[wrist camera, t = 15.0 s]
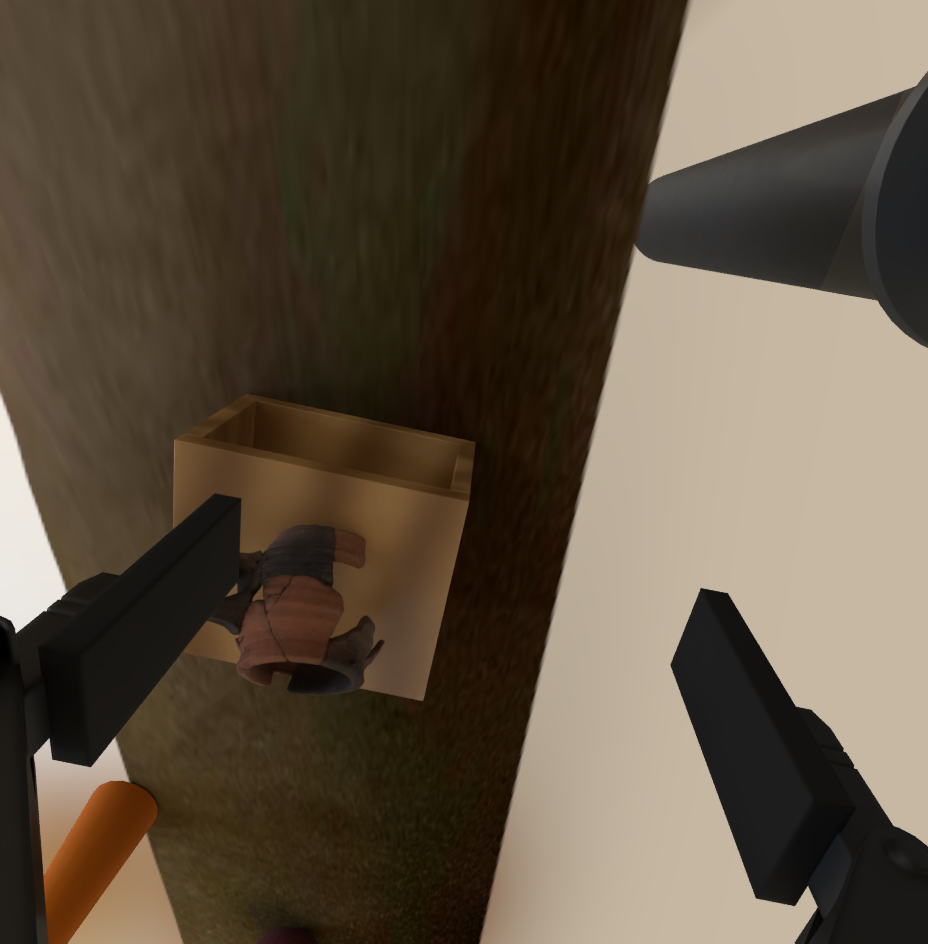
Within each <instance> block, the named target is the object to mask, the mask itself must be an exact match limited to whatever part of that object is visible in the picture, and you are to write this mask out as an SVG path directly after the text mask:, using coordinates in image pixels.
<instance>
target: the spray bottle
mask: <svg viewBox="0 0 928 944" xmlns="http://www.w3.org/2000/svg"><path fill="white" fill-rule="evenodd" d="M157 811H158V807H157V805H156V802H155V800H154V798H153V797H152V796H151V795H150V794H149V793H148V792H147V791H146V790H145V789H143V788H141V787H139V786H137V785H136V784H132V783H129V782H125V781H110V782H107V783H105V784H102V785H100V786H99V787H98V788H97V789H96V790H95V792H94V793H93V795H92V796H91V798H90V799H89V801H88V803H87V804H86V806H85V808H84V809H83V811H82V813H81V815H80V816H79V818H78V819H77V821H76V823H75V824H74V826H73V828H72V829H71V831H70V833H69V834H68V836H67V838H66V839H65V841H64V843H63V845H62V846H61V848H60V849H59V851H58V853H57V855H56V856H55V858H54V859H53V861H52V863H51V864H50V866H49V868H48V869H47V871H46V873H45V875H44V876H43V877H44V891H45V904H46V917H47V930H48V944H67V943H68V942H69V940H70V939H71V938H72V936H73V935H74V934H75V932H76V931H77V929H78V928H79V926H80V925H81V924H82V922H83V921H84V919H85V918H86V917H87V915H88V914H89V912H90V911H91V910H92V908H93V907H94V905H95V904H96V903H97V901H98V900H99V898H100V897H101V895H102V894H103V893H104V891H105V890H106V888H107V887H108V886H109V884H110V883H111V881H112V880H113V879H114V877H115V876H116V874H117V873H118V872H119V870H120V869H121V867H122V866H123V865H124V863H125V862H126V860H127V859H128V858H129V856H130V855H131V853H132V852H133V850H134V849H135V848H136V846H137V845H138V843H139V842H140V841H141V839H142V838H143V836H144V835H145V834H146V832H147V831H148V829H149V828H150V827H151V825H152V824H153V822H154V821H155V820H156V817H157Z"/></svg>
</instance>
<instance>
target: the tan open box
mask: <svg viewBox="0 0 928 944" xmlns="http://www.w3.org/2000/svg"><path fill="white" fill-rule="evenodd" d="M474 452H475V442H473V441H468V440H464V439H459V438H454V437H450V436H445V435H440V434H436V433H431V432H426V431H422V430H417V429H412V428H408V427H403V426H398V425H393V424H389V423H384V422H379V421H375V420H370V419H365V418H361V417H356V416H351V415H347V414H342V413H337V412H333V411H328V410H323V409H318V408H314V407H309V406H304V405H300V404H295V403H290V402H286V401H281V400H276V399H272V398H267V397H262V396H258V395H253V394H248V393H247V394H246V395H244V396H242V397H241V398H239V399H237V400H236V401H234V402H233V403H231V404H230V405H228V406H226V407H225V408H223V409H222V410H220V411H218V412H217V413H215V414H214V415H212V416H211V417H209V418H207V419H206V420H204V421H203V422H201V423H200V424H198V425H196V426H195V427H193V428H192V429H190V430H189V431H187V432H185V433H184V434H183V435H181V436H179V437H178V438H176V439H175V440H174V498H173V529H174V528H175V527H176V526H178V525H179V524H180V523H181V522H182V521H183V520H184V519H186V518H187V517H188V516H189V515H190V514H191V513H193V512H194V511H195V510H196V509H197V508H198V507H199V506H201V505H202V504H203V503H204V502H205V501H206V500H207V499H209V498H210V497H211V496H212V495H213V494H214V493H217V494H222V495H227V496H232V497H237V498H242V500H241V529H240V552H242V553H253V552H256V551H258V550H261V552H262V553H263V552H264V551H265V550H267V548H268V547H269V545H270V544H271V543H272V542H273V541H274V540H275V539H276V537H277V535H278V534H279V533H280V532H281V531H283V530H285V529H288V528H291V527H293V526H297V525H314V524H317V525H320V526H329V527H333V528H338V529H342V530H347V531H349V532H352V533H355V534H357V535H359V536H360V537H363V538H364V539H365V541H366V543H365V557H366V560H365V565H364V566H363V567H362V568H360V569H358V568H356V567H353V566H350V565H348V564H344V563H337V562H333V586H332V588H333V589H335V590H336V591H337V592H338V593H340V594H341V596H342V598H343V602H344V612H343V614H342V615H341V617H340V619H339V622H338V623H337V625H336V627H335V630H334V632H333V634H332V635H331V637H330V638H333V637H336V636H339V635H342V634H344V633H346V632H348V631H349V630H351V629H352V628H354V627H356V626H357V624H358V622H359V621H360V619H361V618H362V617H363V616H365V615H366V616H368V617H370V618H371V620H372V621H373V623H374V624H375V632H374V634H373V646H372V648H371V649H373V648H374V647H375V645H376V644H377V642H378V641H379V640H384V641H385V643H384V645H383V647H382V649H381V651H380V653H379V654H378V655H377V657H376V658H375V659H374V660H373V662H372V663H371V664H370V665H368V666H367V667H366V669H365V670H364V683H363V685H362V686H361V687H360V688H361V689H366V690H371V691H376V692H381V693H386V694H391V695H396V696H401V697H406V698H411V699H416V700H421V701H423V699H424V694H425V690H426V686H427V681H428V677H429V673H430V668H431V664H432V660H433V656H434V651H435V647H436V643H437V638H438V634H439V630H440V625H441V621H442V617H443V612H444V608H445V604H446V600H447V595H448V591H449V587H450V582H451V578H452V574H453V569H454V565H455V561H456V556H457V552H458V548H459V544H460V539H461V535H462V531H463V526H464V522H465V518H466V513H467V509H468V505H469V499H470V489H471V480H472V471H473V462H474ZM236 593H237V583H236V585H235V586H234V587H233V588H232V590H231V591H230V592H229V593H228V595H227V596H226V597H228V596H231V595H233V594H236ZM262 599H264V598H263V587H261V588H260V589H259V591H258V592H257V593H256V594H255V596H254V597H253V599H252V601H255V600H262ZM235 638H239V634H238V635H232V634H231V633H230V632H229V631H228V630H227V629H226V628H225V627H223V626H221V625H218V624H215V623H212V622H209V621H206V623H205V624H204V625H203V626H202V628H201V629H200V630H199V631H198V633H197V634H196V635H195V636H194V638H193V639H192V640H191V641H190V643H189V644H188V645H187V647H186V648H185V649H184V650H183V652H182V653H187V654H192V655H197V656H201V657H206V658H211V659H216V660H221V661H226V662H231V663H236V664H237V662H238V661H239V658H240V655H241V651H240V650H239V649H238V647H237V644H236V642H235Z"/></svg>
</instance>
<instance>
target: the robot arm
mask: <svg viewBox="0 0 928 944" xmlns="http://www.w3.org/2000/svg"><path fill="white" fill-rule="evenodd" d="M241 500H242V498H237V497H232V496H227V495H222V494H217V493H214V494H213V495H212V496H211V497H210V498H209V499H207V500H206V501H205V502H204V503H203V504H202V505H201V506H199V507H198V508H197V509H196V510H195V511H194V512H193V513H191V514H190V515H189V516H188V517H187V518H186V519H184V520H183V521H182V522H181V523H180V524H179V525H178V526H176V527H175V528H174V529H173V530H172V531H171V532H170V533H168V534H167V535H166V536H165V537H164V538H163V539H161V540H160V541H159V542H158V543H157V544H156V545H155V546H153V547H152V548H151V549H150V550H149V551H148V552H146V553H145V554H144V555H143V556H142V557H141V558H140V559H138V560H137V561H136V562H135V563H134V564H133V565H132V566H130V567H129V568H128V569H127V570H126V571H125V572H123V573H122V574H121V575H120V576H119V575H114V574H109V573H104V572H103V573H100V574H98V575H96V576H94V577H91V578H89V579H87V580H84V581H82V582H80V583H78V584H77V585H76V586H75V587H73V588H72V589H71V590H70V591H68V592H67V593H66V594H65V595H63V596H62V598H61V600H57V601H56V602H55V603H53V604H52V605H51V606H50V607H49V608H48V609H47V611H43V612H42V613H41V614H40V615H39V616H37V617H36V618H35V619H34V620H32V621H31V622H30V623H29V624H27V625H26V626H25V627H24V628H22V629H21V630H20V631H19V632H17V633H15V628H14V626H13V624H12V622H11V621H10V620H8V619H6V618H4V617H2V616H0V944H48V930H47V917H46V904H45V891H44V877H43V864H42V851H41V838H40V824H39V811H38V798H37V785H36V771H35V762H34V754H35V753H36V752H37V751H38V750H39V749H40V748H41V747H42V745H43V744H44V743H45V742H46V741H47V740H48V739H49V738H50V745H51V753H52V759H53V760H57V761H62V762H67V763H73V764H77V765H82V766H87V767H91V766H92V765H93V764H94V763H95V762H96V760H97V759H98V758H99V756H100V755H101V754H102V753H103V751H104V750H105V749H106V748H107V746H108V745H109V744H110V743H111V741H112V740H113V739H114V738H115V736H116V735H117V734H118V732H119V731H120V730H121V729H122V727H123V726H124V725H125V724H126V722H127V721H128V720H129V719H130V717H131V716H132V715H133V714H134V712H135V711H136V710H137V708H138V707H139V706H140V705H141V703H142V702H143V701H144V700H145V698H146V697H147V696H148V695H149V693H150V692H151V691H152V689H153V688H154V687H155V686H156V684H157V683H158V682H159V681H160V679H161V678H162V677H163V676H164V674H165V673H166V672H167V671H168V669H169V668H170V667H171V665H172V664H173V663H174V662H175V660H176V659H177V658H178V657H179V655H180V654H181V653H182V652H183V650H184V649H185V648H186V647H187V645H188V644H189V643H190V641H191V640H192V639H193V638H194V636H195V635H196V634H197V633H198V631H199V630H200V629H201V628H202V626H203V625H204V624H205V623H206V621H207V620H208V619H209V617H210V616H211V615H212V614H213V612H214V611H215V610H216V609H217V607H218V606H219V605H220V604H221V602H222V601H223V600H224V598H225V597H226V596H227V595H228V593H229V592H230V591H231V590H232V588H233V587H234V586H235V585H236V583H237V582H238V581H239V559H240V529H241ZM671 668H672V670H673V673H674V676H675V679H676V682H677V684H678V687H679V690H680V693H681V695H682V698H683V700H684V703H685V706H686V709H687V712H688V714H689V717H690V720H691V722H692V725H693V728H694V730H695V733H696V736H697V739H698V742H699V744H700V747H701V750H702V753H703V755H704V758H705V761H706V763H707V766H708V769H709V772H710V774H711V777H712V780H713V783H714V785H715V788H716V791H717V793H718V796H719V799H720V801H721V804H722V807H723V810H724V813H725V815H726V818H727V821H728V823H729V826H730V829H731V832H732V834H733V837H734V840H735V843H736V845H737V848H738V850H739V853H740V856H741V859H742V862H743V864H744V867H745V870H746V872H747V875H748V878H749V881H750V883H751V886H752V889H753V892H754V894H755V897H756V898H757V899H762V900H766V901H772V902H777V903H782V904H787V905H792V906H795V905H796V904H797V902H798V900H799V899H800V897H801V895H802V894H803V893H804V891H805V889H806V888H807V886H809V889H810V891H811V893H812V895H813V898H814V900H815V902H816V904H817V906H818V908H817V909H816V911H815V913H814V914H813V915H812V917H811V919H810V920H809V922H808V923H807V925H806V926H805V928H804V929H803V931H802V932H801V934H800V935H799V937H798V939H797V940H796V942H795V944H928V846H927V845H925V844H924V843H923V842H922V841H920V840H919V839H917V838H916V837H915V836H913V835H911V834H910V833H908V832H906V831H904V830H902V829H900V828H898V827H895V826H893V825H892V823H891V821H890V820H889V818H888V817H887V815H886V814H885V812H884V811H883V809H882V808H881V806H880V804H879V803H878V801H877V800H876V798H875V797H874V795H873V793H872V792H871V790H870V789H869V787H868V786H867V784H866V783H865V781H864V780H863V778H862V776H861V775H860V773H859V772H858V770H857V769H854V764H853V762H852V761H851V759H850V758H849V756H848V755H847V753H846V752H844V751H843V749H844V748H843V747H842V745H841V744H840V742H839V741H838V739H837V738H836V736H835V734H834V733H833V731H832V730H831V728H830V727H828V726H827V725H826V724H825V723H824V722H823V721H822V720H821V719H820V718H819V717H818V716H817V715H816V714H815V713H814V712H813V711H812V710H810V709H805V708H800V707H796V706H795V704H794V703H793V701H792V699H791V698H790V696H789V695H788V693H787V691H786V689H785V688H784V686H783V685H782V683H781V681H780V679H779V678H778V676H777V674H776V673H775V671H774V670H773V668H772V666H771V665H770V663H769V661H768V660H767V658H766V656H765V654H764V653H763V651H762V649H761V648H760V646H759V644H758V643H757V641H756V640H755V638H754V636H753V634H752V633H751V631H750V629H749V628H748V626H747V625H746V623H745V621H744V620H743V618H742V616H741V614H740V613H739V611H738V609H737V608H736V606H735V604H734V603H733V601H732V600H731V598H730V596H729V595H728V593H723V592H718V591H713V590H708V589H703V588H701V589H700V592H699V594H698V597H697V600H696V602H695V604H694V607H693V609H692V612H691V615H690V617H689V619H688V622H687V624H686V627H685V630H684V632H683V635H682V637H681V640H680V642H679V645H678V647H677V650H676V652H675V655H674V657H673V660H672V663H671Z"/></svg>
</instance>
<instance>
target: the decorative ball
mask: <svg viewBox="0 0 928 944" xmlns="http://www.w3.org/2000/svg"><path fill="white" fill-rule="evenodd" d="M256 944H318V942H317V941H316V940H315V939H314V938H313V937H312V936H311V935H310V934H309V933H307V932H305V931H303V930H301V929H297V928H281V929H278V930H275V931H273V932H271V933H269V934H267V935H266V936H264V937H263V938H262V939H260V940H259V941H258V942H257V943H256Z"/></svg>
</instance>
